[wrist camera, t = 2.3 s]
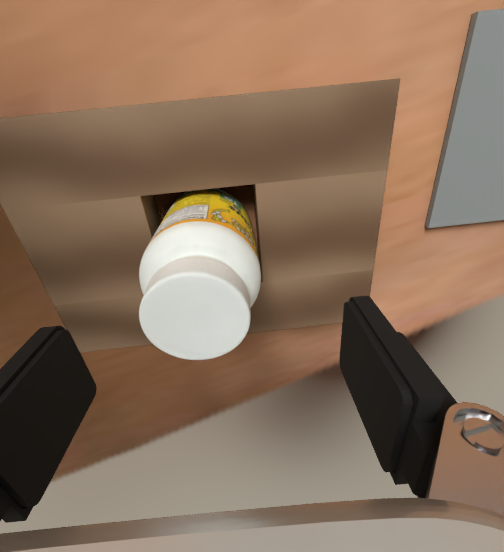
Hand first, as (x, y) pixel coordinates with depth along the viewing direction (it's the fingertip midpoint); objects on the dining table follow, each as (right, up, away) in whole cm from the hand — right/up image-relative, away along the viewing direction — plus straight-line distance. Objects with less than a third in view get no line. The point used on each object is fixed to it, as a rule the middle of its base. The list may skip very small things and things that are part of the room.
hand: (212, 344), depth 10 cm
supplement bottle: (-1, +6, +9) cm, 11 cm away
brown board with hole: (-1, +5, +9) cm, 10 cm away
